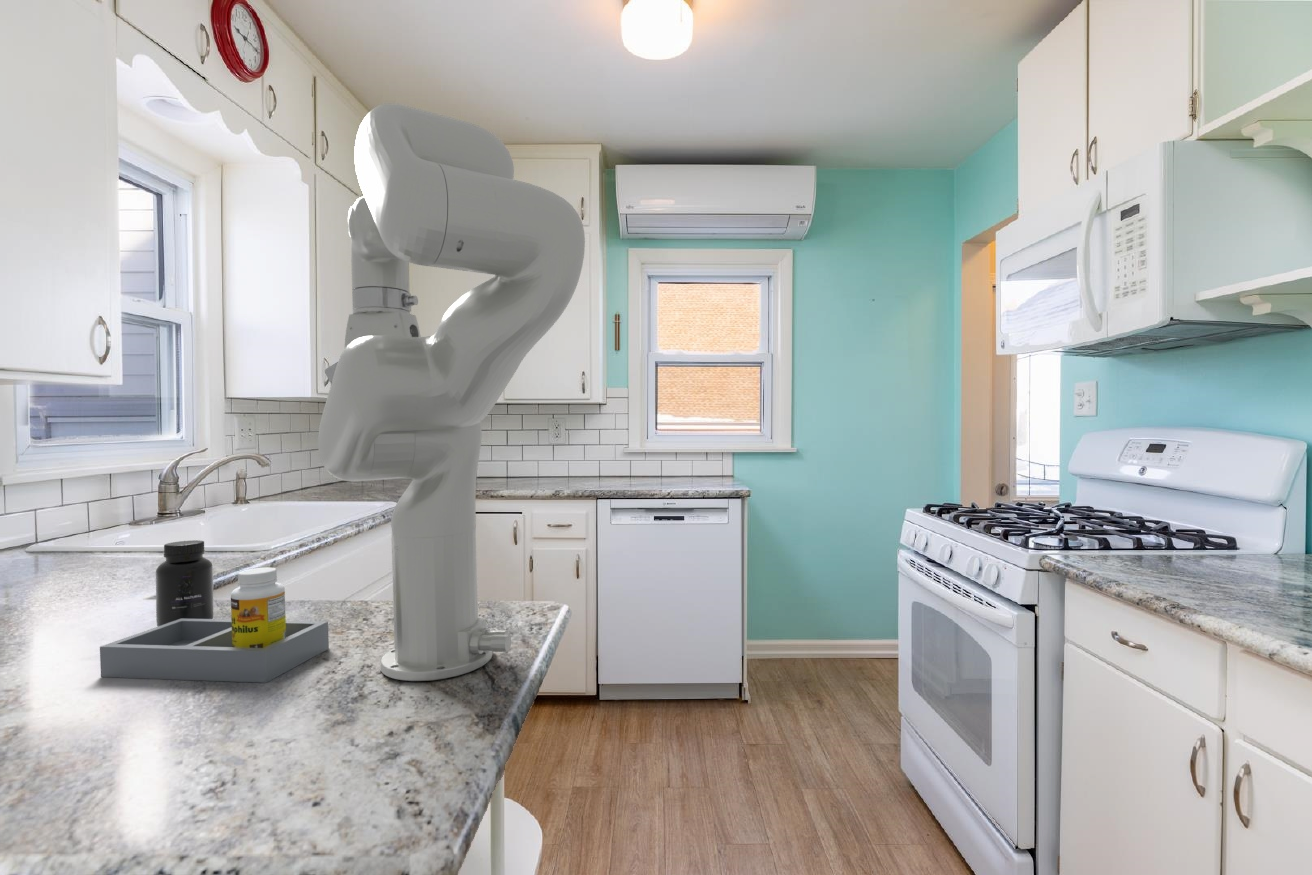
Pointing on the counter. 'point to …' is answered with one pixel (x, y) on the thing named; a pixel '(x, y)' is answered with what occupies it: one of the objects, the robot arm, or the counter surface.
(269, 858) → the counter surface
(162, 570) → the supplement bottle
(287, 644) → the divided tray
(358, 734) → the counter surface
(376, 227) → the robot arm
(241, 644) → the supplement bottle
